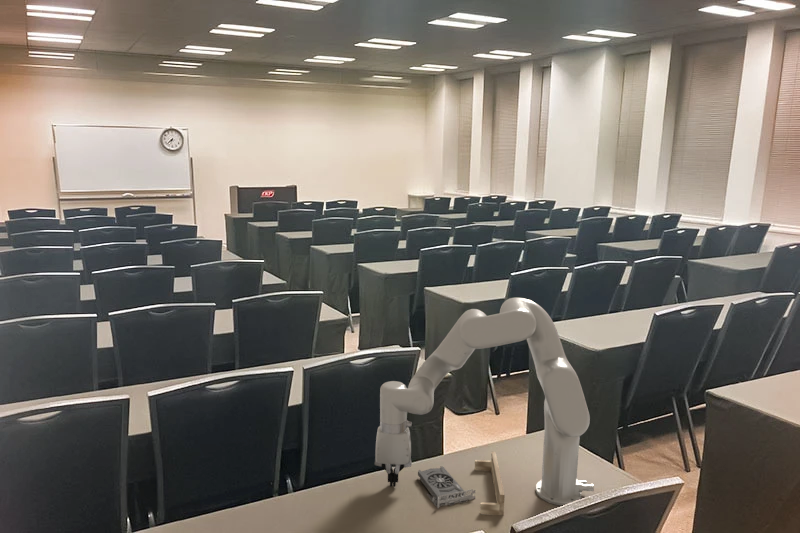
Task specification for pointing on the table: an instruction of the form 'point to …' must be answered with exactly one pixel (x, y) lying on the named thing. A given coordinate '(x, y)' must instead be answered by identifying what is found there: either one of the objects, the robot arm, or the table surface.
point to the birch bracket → (499, 492)
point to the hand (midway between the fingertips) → (393, 483)
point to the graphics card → (443, 487)
